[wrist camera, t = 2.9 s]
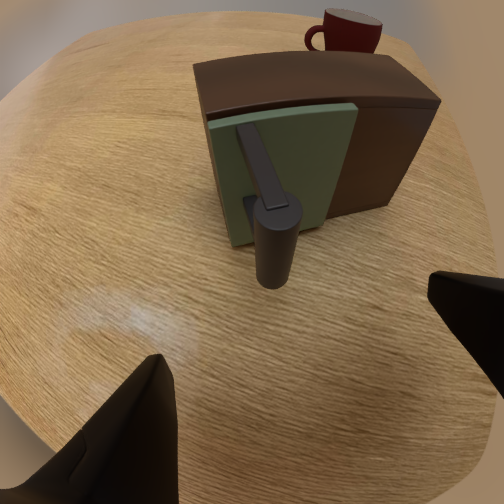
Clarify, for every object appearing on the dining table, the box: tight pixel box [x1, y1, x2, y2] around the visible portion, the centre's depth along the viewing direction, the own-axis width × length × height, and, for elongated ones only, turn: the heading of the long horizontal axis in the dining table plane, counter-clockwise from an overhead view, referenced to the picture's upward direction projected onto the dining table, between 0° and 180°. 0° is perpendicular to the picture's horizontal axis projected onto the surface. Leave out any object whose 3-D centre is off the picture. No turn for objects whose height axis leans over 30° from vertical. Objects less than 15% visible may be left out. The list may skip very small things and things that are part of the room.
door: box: [207, 103, 358, 289], centre depth 14 cm, size 6×7×11 cm
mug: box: [304, 9, 383, 54], centre depth 29 cm, size 10×8×10 cm
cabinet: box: [193, 51, 441, 239], centre depth 18 cm, size 6×14×12 cm, turn 105°
